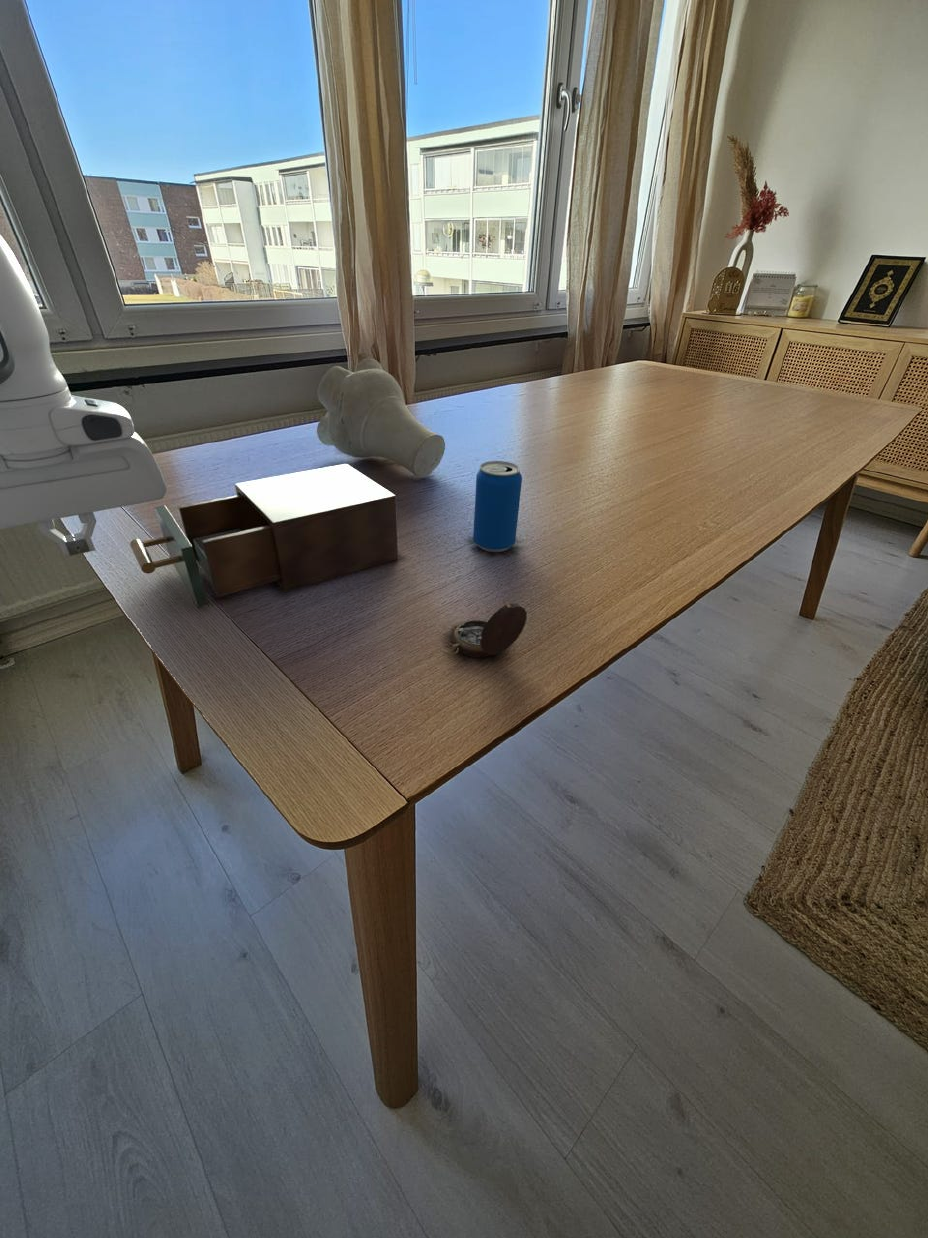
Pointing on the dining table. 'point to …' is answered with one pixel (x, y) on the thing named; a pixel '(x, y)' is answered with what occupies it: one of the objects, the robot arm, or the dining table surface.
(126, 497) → the robot arm
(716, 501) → the dining table surface
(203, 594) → the drawer
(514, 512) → the beverage can
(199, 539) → the tray
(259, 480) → the cabinet
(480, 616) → the dining table surface
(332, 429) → the vase
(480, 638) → the compass
